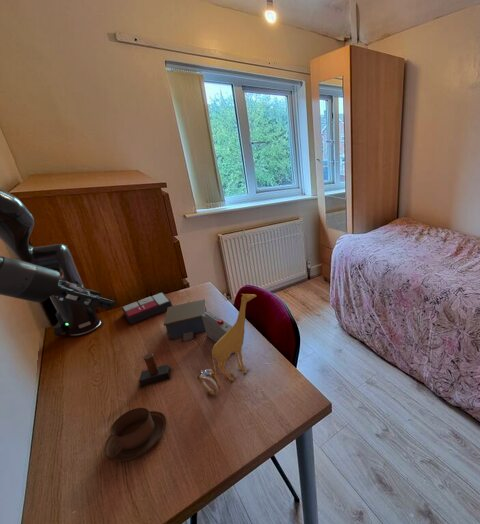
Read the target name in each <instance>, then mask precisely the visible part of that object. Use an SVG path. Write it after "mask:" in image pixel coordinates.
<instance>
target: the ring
mask: <svg viewBox="0 0 480 524" xmlns="http://www.w3.org/2000/svg"><path fill="white" fill-rule="evenodd" d="M196 379H197V380H198V382H199V383H200V385H201V386H202V388H203V389H204V390H206V391H207V392H208V393H209V394H210V395H213V396H215V395H217V394H218V393H219V392H220V390H221V383H220V381H219V378H218V376H217V375H216V374H215V372H214V370H213V369H211V368H204V370H203V369H201V370H200V374H198V376H197V378H196ZM205 380H207V381H209V382H211V384H212V385H213V386H214V388H215V390H214V389H213V388H211V387H210V386H208V384H207V382H206V381H205Z"/></svg>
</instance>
